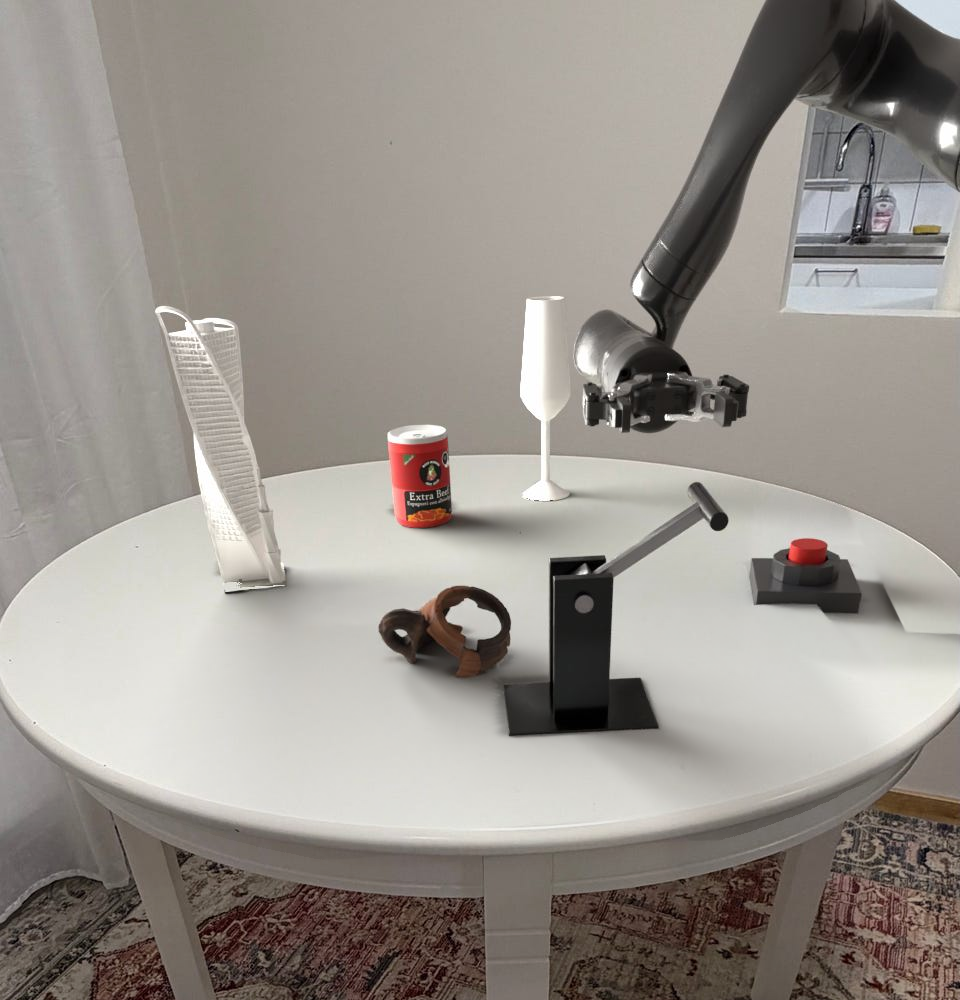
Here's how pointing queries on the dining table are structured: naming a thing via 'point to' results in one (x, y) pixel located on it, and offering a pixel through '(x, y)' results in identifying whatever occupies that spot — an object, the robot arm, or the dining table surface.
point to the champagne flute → (545, 379)
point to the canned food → (420, 475)
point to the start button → (808, 551)
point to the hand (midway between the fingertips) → (677, 416)
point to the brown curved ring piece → (448, 630)
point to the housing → (805, 583)
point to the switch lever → (666, 532)
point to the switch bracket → (578, 663)
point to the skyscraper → (225, 450)
